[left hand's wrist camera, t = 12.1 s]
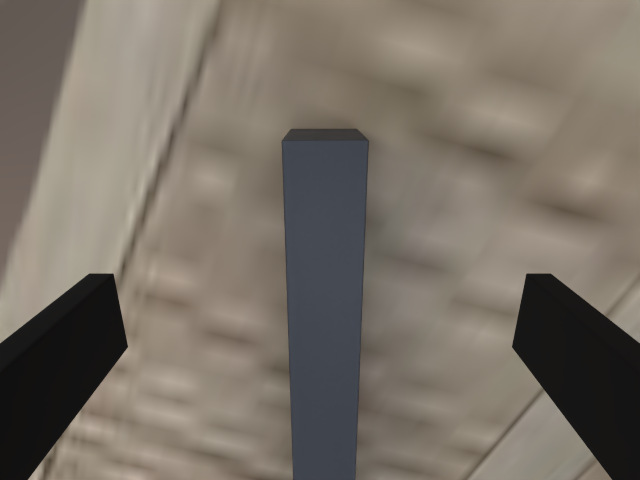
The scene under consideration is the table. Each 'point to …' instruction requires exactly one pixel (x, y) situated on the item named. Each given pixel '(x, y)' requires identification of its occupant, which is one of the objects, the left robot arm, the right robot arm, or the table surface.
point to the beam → (324, 295)
